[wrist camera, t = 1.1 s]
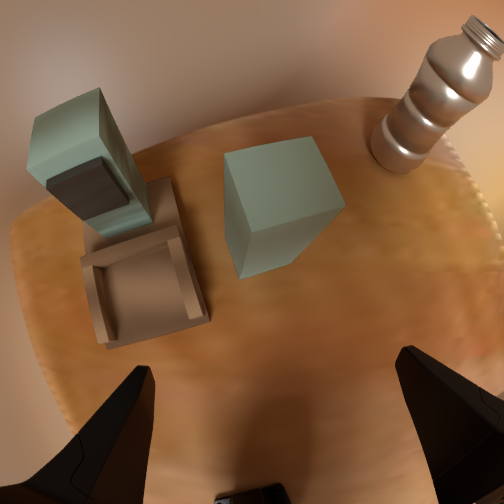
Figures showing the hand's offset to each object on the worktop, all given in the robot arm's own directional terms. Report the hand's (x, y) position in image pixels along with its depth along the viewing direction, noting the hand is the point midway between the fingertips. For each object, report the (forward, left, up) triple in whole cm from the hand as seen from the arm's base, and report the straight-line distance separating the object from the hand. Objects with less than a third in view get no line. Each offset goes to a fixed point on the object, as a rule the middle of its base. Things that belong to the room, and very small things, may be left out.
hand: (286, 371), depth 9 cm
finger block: (+7, -3, -14) cm, 16 cm away
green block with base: (+9, +7, -14) cm, 18 cm away
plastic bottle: (+13, -21, -14) cm, 28 cm away
